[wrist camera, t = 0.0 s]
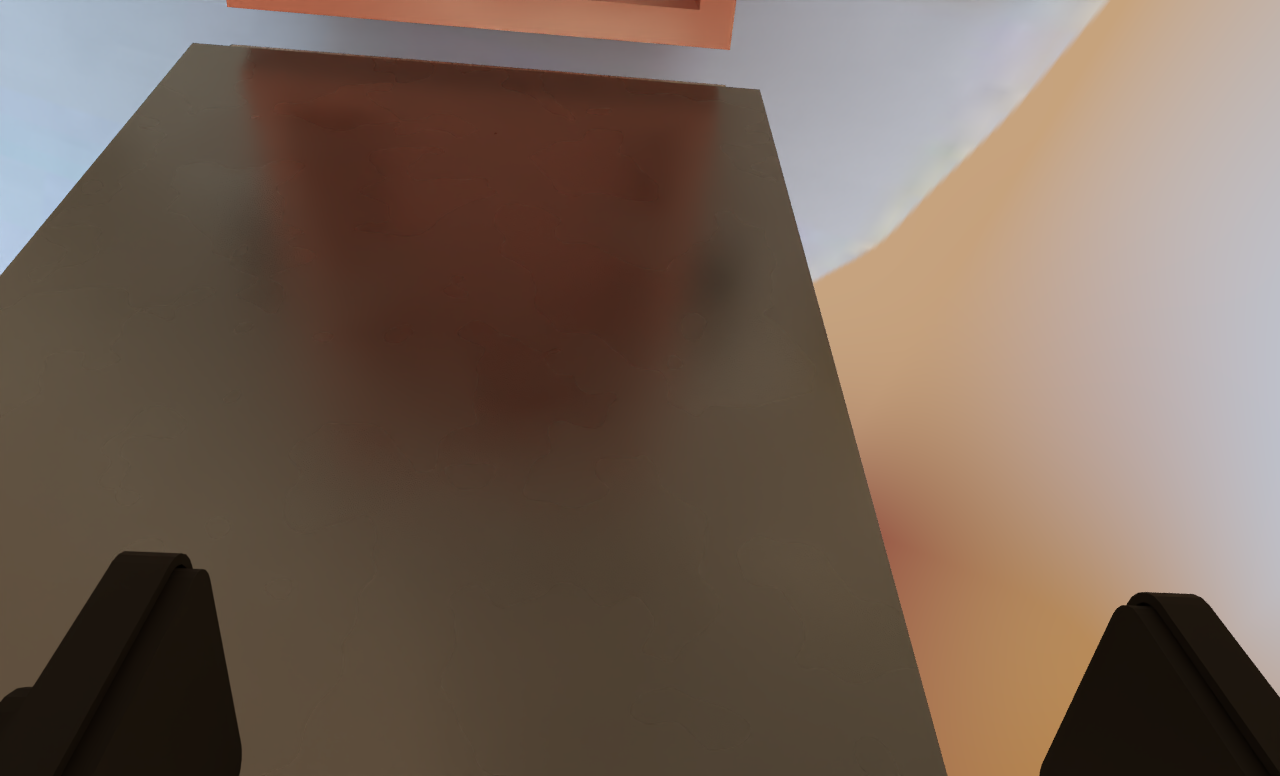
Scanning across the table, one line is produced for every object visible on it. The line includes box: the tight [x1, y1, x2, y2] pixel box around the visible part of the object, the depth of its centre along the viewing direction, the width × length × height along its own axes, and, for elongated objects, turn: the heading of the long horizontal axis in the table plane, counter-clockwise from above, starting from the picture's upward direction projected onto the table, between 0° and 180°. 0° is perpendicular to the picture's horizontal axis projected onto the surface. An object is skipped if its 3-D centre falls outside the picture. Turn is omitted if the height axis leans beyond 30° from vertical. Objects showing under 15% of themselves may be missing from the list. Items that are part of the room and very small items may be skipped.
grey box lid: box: [0, 43, 947, 776], centre depth 19 cm, size 24×16×1 cm
